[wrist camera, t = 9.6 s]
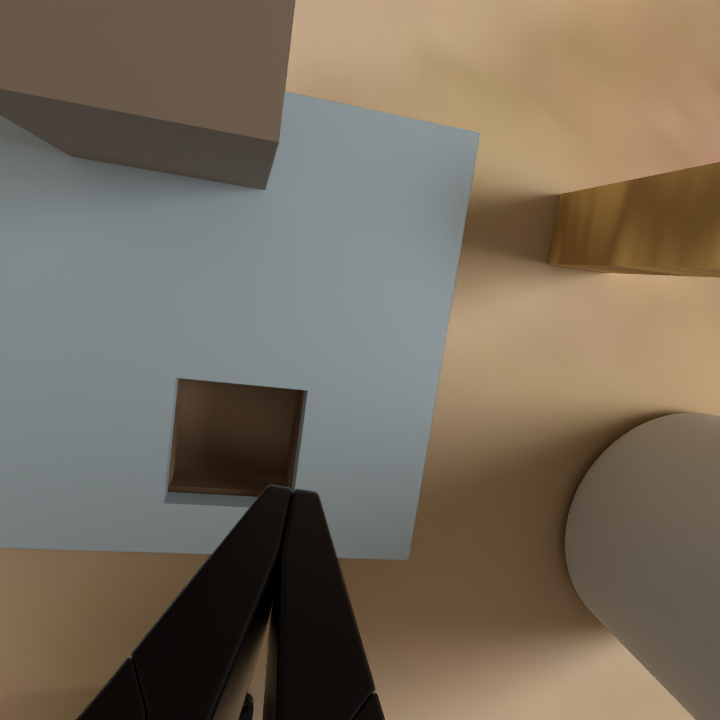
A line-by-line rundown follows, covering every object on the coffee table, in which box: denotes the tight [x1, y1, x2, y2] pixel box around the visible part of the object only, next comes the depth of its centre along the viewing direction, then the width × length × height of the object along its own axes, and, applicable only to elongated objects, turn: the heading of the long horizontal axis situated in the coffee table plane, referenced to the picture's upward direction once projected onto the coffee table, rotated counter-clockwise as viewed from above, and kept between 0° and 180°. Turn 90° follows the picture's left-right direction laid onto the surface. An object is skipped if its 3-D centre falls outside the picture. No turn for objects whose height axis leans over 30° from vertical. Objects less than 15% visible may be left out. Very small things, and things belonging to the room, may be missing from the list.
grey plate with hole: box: [0, 0, 480, 560], centre depth 15 cm, size 16×20×9 cm
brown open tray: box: [167, 378, 304, 497], centre depth 21 cm, size 16×20×4 cm
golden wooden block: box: [548, 162, 720, 277], centre depth 21 cm, size 3×3×10 cm
